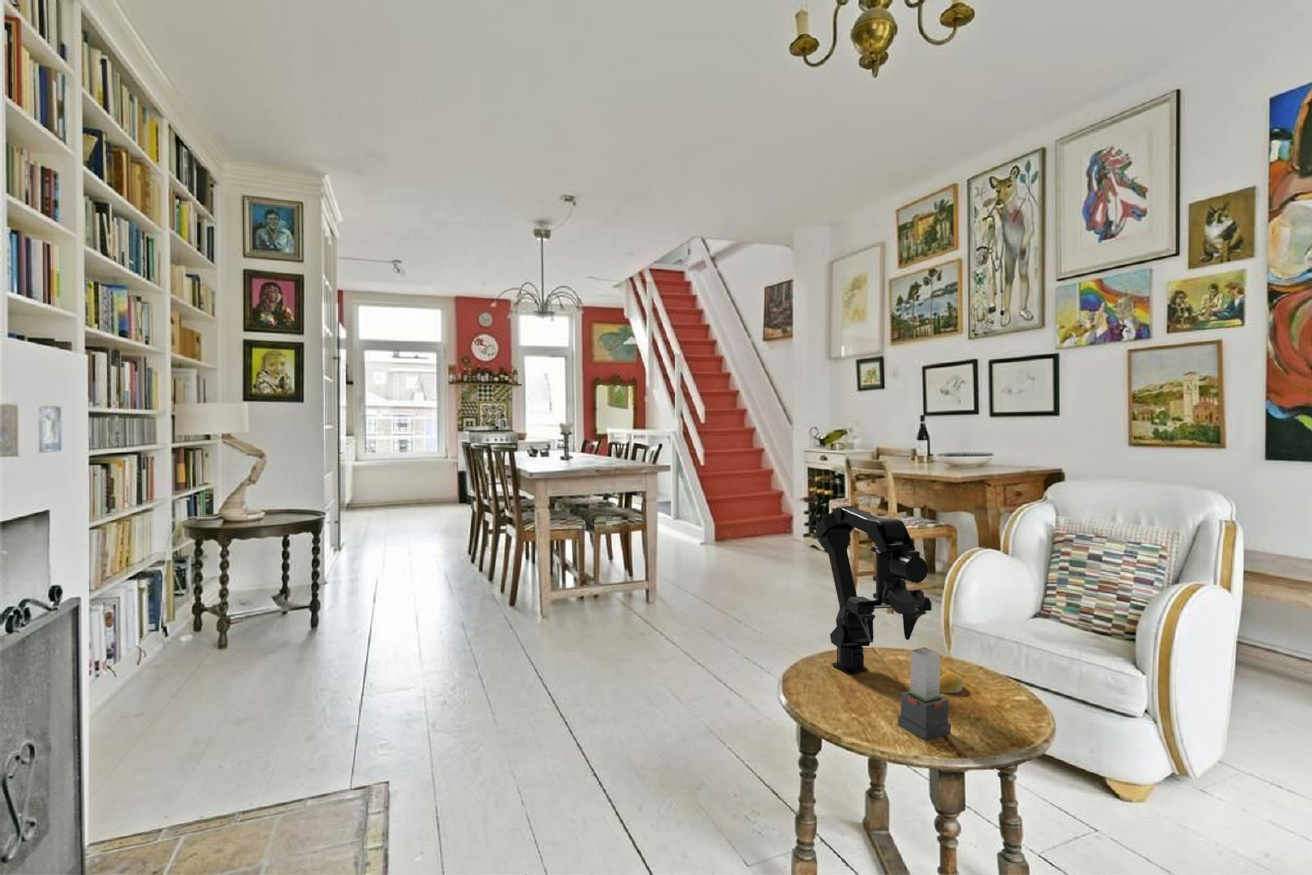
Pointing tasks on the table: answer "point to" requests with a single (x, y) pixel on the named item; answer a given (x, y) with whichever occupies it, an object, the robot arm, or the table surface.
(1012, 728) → the table surface
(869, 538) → the robot arm
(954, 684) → the bread roll
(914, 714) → the dark grey box
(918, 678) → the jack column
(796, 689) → the table surface
